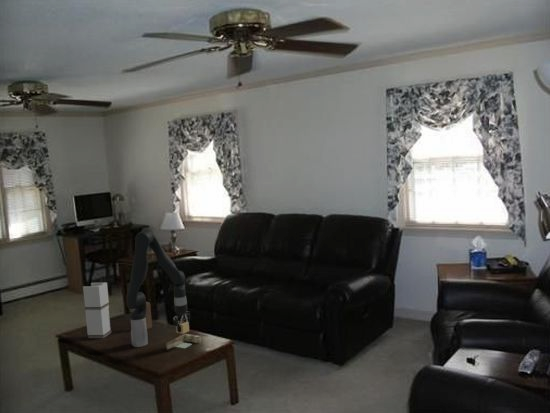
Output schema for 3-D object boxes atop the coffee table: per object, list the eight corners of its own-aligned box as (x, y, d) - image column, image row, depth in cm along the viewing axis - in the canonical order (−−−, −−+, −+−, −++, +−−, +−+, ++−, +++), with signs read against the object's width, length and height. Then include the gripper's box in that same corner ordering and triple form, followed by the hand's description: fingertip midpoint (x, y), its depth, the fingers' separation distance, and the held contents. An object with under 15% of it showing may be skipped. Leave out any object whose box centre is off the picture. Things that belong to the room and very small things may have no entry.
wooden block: (140, 331, 336) (138, 305, 334) (137, 329, 339) (135, 304, 338) (152, 327, 342) (150, 302, 340) (149, 326, 345) (147, 301, 344)
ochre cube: (183, 333, 299) (182, 324, 298) (176, 332, 302) (175, 323, 301) (189, 330, 304) (188, 321, 303) (182, 329, 306) (181, 320, 306)
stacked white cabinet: (111, 332, 337) (106, 282, 334) (103, 338, 327) (98, 286, 324) (96, 332, 339) (91, 282, 336) (87, 338, 329) (82, 286, 326)
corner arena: (166, 349, 299) (166, 343, 298) (185, 339, 313) (184, 333, 313) (183, 352, 292) (182, 345, 292) (201, 342, 307) (200, 336, 306)
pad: (175, 346, 302) (175, 346, 302) (183, 342, 308) (183, 342, 308) (184, 348, 298) (184, 348, 298) (192, 344, 305) (192, 343, 305)
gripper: (177, 307, 293) (179, 335, 295) (193, 301, 305) (195, 327, 307) (168, 306, 297) (170, 333, 298) (183, 300, 309) (185, 326, 311)
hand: (182, 330), depth 303 cm, fingers closed on ochre cube, 5 cm apart
